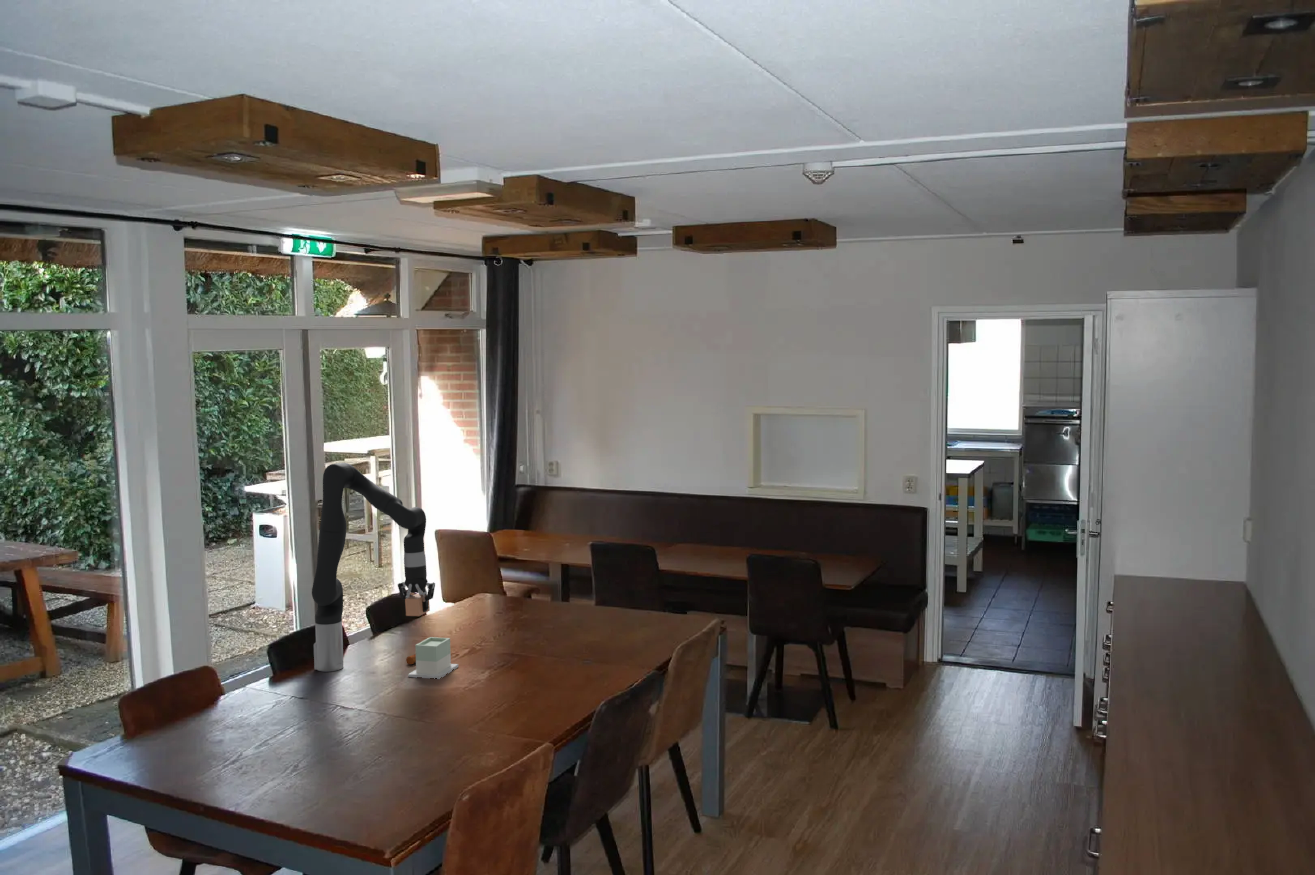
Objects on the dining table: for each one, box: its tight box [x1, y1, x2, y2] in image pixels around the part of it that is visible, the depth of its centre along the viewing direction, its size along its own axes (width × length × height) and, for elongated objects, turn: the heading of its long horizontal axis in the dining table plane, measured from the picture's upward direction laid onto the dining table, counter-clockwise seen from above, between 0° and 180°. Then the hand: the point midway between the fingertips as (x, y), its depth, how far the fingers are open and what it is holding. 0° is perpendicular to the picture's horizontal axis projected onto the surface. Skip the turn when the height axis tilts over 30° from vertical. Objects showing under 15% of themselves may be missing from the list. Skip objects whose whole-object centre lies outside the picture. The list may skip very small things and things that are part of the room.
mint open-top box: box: [408, 636, 459, 680], centre depth 376 cm, size 15×12×11 cm
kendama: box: [405, 653, 416, 665], centre depth 394 cm, size 6×6×20 cm
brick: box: [404, 593, 431, 617], centre depth 373 cm, size 8×5×6 cm, turn 165°
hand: (417, 611), depth 373 cm, fingers closed on brick, 5 cm apart
